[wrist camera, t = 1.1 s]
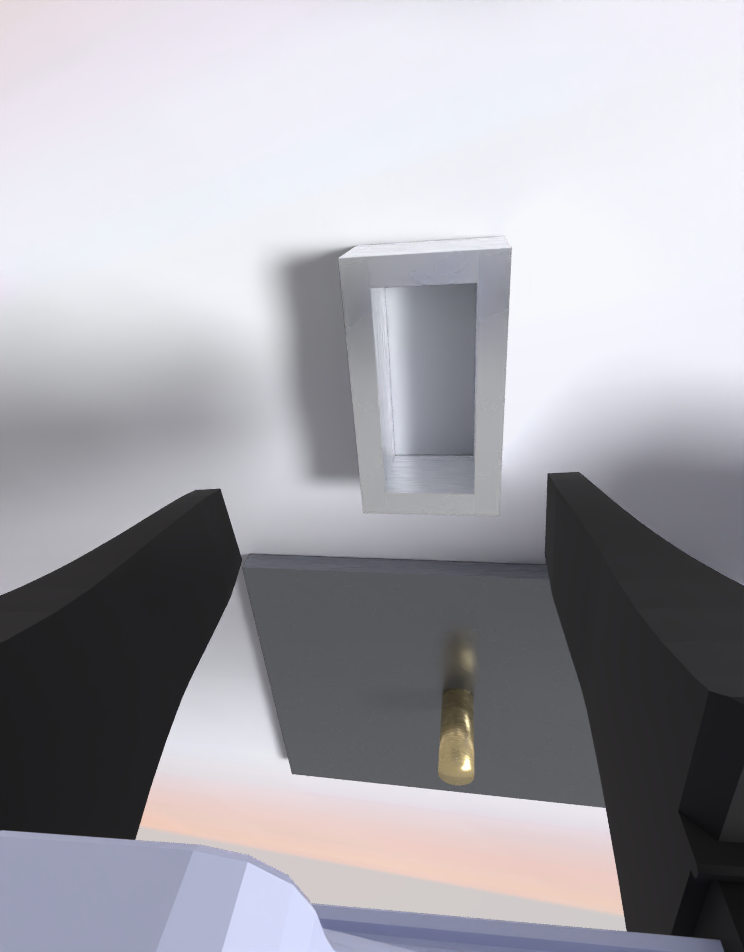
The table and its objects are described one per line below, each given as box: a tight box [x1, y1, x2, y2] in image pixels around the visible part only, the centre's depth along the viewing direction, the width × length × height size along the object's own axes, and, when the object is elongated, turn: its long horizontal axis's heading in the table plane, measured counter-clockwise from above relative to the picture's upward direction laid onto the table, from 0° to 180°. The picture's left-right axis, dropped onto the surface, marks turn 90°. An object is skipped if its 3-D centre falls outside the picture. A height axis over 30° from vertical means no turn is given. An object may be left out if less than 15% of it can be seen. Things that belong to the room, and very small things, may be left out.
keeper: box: [242, 554, 606, 808], centre depth 26 cm, size 20×16×5 cm
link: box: [338, 236, 512, 516], centre depth 19 cm, size 9×5×3 cm, turn 4°
